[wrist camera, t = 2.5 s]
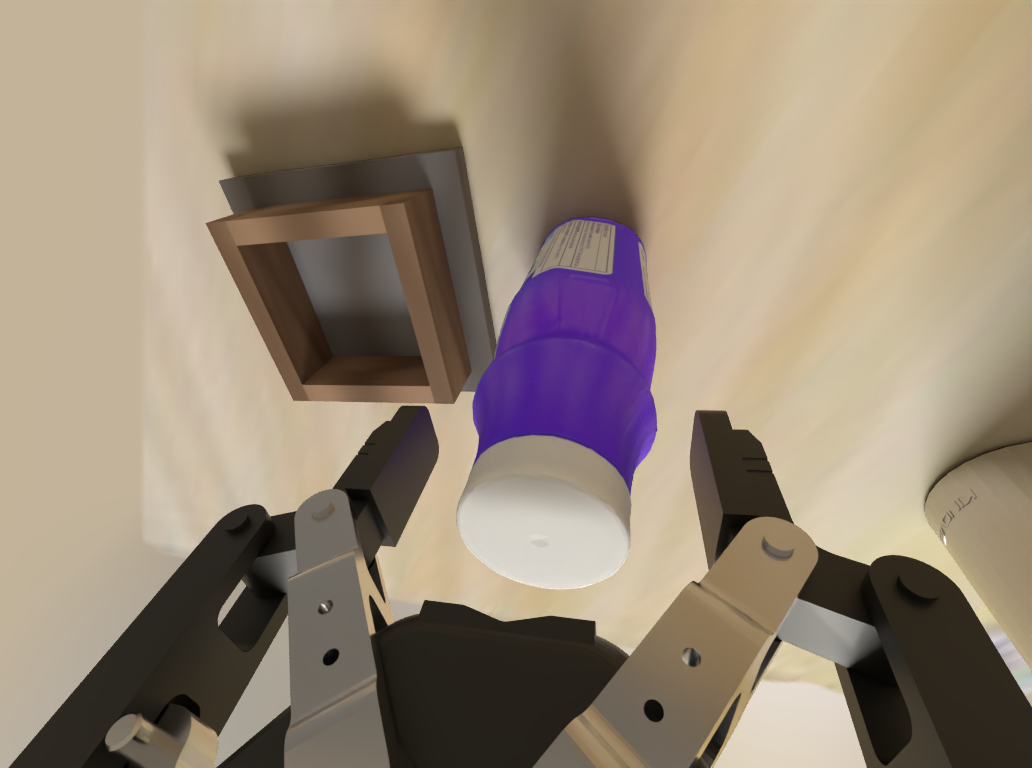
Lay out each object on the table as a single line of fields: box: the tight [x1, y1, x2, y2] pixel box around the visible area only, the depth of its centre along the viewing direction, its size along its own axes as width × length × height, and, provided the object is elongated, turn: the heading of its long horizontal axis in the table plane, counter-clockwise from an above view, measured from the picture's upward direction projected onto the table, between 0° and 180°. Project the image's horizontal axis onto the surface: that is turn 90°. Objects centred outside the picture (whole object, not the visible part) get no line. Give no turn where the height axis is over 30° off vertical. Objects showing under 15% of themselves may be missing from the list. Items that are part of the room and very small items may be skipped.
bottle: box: [456, 217, 657, 589], centre depth 17 cm, size 7×6×17 cm
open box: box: [206, 147, 497, 404], centre depth 25 cm, size 14×14×5 cm
